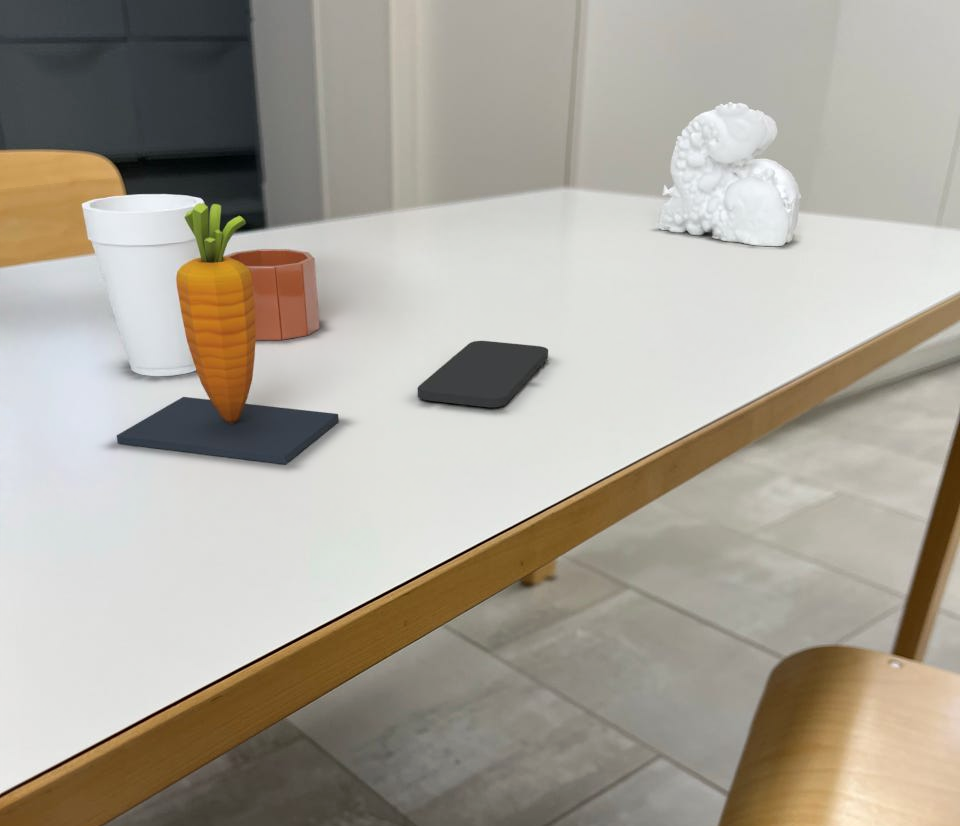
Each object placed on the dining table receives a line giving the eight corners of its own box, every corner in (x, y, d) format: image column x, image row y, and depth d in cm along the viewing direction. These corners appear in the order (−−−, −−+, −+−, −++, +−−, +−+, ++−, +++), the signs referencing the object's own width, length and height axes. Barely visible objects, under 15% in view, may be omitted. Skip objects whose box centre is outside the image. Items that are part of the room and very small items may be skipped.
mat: (117, 443, 72) (116, 435, 72) (184, 404, 79) (183, 396, 79) (285, 464, 69) (284, 456, 69) (338, 421, 76) (338, 413, 76)
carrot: (230, 408, 77) (203, 192, 69) (281, 420, 75) (259, 199, 67) (181, 427, 73) (148, 202, 65) (234, 440, 71) (205, 209, 63)
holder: (212, 336, 96) (203, 264, 93) (255, 314, 103) (248, 246, 100) (294, 343, 94) (287, 270, 91) (332, 320, 101) (327, 251, 98)
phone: (412, 390, 80) (472, 339, 92) (412, 400, 80) (472, 348, 92) (502, 400, 78) (552, 347, 90) (502, 411, 78) (551, 356, 91)
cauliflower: (837, 178, 126) (712, 76, 126) (731, 311, 137) (617, 218, 138) (851, 169, 141) (740, 78, 142) (754, 289, 153) (652, 205, 153)
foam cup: (91, 364, 88) (59, 202, 81) (185, 343, 94) (163, 190, 87) (148, 389, 82) (120, 217, 76) (245, 365, 88) (226, 203, 81)
